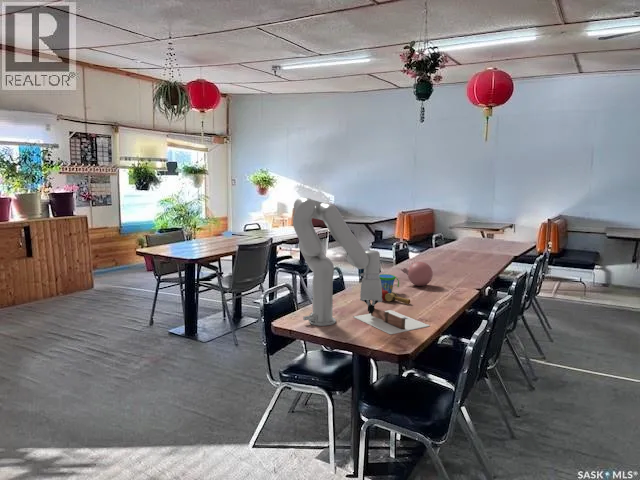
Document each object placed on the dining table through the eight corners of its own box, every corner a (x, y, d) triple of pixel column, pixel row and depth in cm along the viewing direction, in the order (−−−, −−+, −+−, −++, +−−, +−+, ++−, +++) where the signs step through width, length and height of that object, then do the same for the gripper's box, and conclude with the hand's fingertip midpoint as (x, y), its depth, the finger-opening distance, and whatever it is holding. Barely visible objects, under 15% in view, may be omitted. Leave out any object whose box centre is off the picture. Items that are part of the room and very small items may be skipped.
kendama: (411, 304, 260) (381, 295, 269) (412, 294, 258) (382, 286, 267) (406, 310, 254) (375, 301, 263) (407, 300, 252) (376, 291, 261)
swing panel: (386, 320, 225) (386, 311, 225) (384, 320, 225) (384, 311, 224) (372, 314, 235) (372, 305, 235) (370, 314, 235) (370, 306, 234)
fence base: (402, 329, 213) (403, 319, 212) (384, 321, 224) (384, 312, 224) (405, 329, 214) (405, 319, 213) (387, 321, 225) (387, 311, 225)
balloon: (404, 281, 310) (404, 258, 308) (434, 284, 302) (435, 260, 299) (397, 286, 297) (397, 262, 294) (428, 289, 288) (429, 264, 286)
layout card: (390, 334, 208) (390, 333, 208) (353, 317, 233) (353, 316, 232) (429, 326, 219) (429, 325, 219) (390, 310, 244) (390, 309, 244)
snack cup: (398, 290, 285) (398, 274, 284) (399, 295, 275) (400, 278, 274) (372, 290, 287) (372, 273, 285) (372, 294, 276) (372, 277, 275)
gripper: (354, 276, 227) (354, 314, 229) (386, 278, 223) (385, 316, 225) (357, 273, 234) (357, 309, 236) (388, 275, 230) (387, 312, 232)
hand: (371, 312), depth 231 cm, fingers closed
